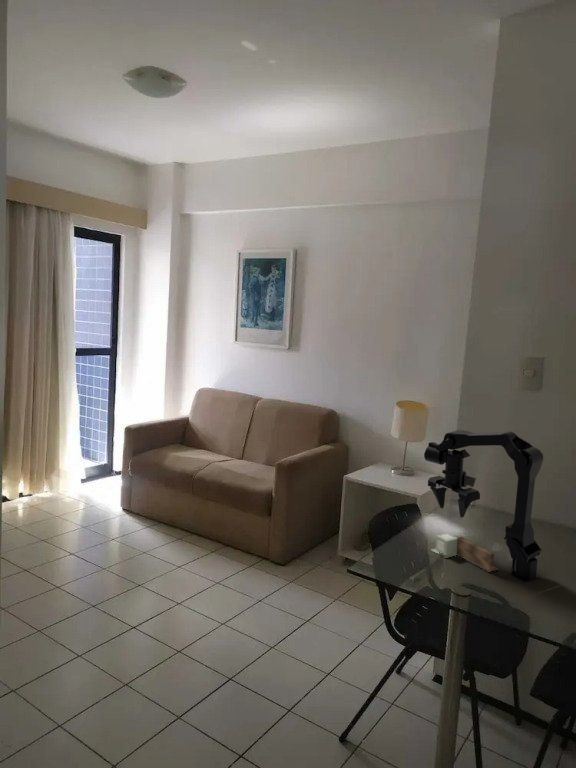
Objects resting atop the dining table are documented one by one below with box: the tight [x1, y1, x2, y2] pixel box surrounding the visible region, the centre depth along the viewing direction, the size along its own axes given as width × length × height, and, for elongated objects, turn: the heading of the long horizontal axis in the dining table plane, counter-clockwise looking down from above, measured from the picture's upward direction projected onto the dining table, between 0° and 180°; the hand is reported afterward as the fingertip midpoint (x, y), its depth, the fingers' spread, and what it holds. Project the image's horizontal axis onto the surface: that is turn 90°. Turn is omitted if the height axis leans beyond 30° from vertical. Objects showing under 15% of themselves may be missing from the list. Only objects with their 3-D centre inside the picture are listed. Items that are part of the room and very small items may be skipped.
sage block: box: [435, 532, 459, 556], centre depth 191 cm, size 5×5×5 cm
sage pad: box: [431, 547, 456, 555], centre depth 191 cm, size 7×7×1 cm
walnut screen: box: [456, 536, 499, 572], centre depth 184 cm, size 14×4×6 cm, turn 28°
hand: (451, 512), depth 194 cm, fingers open, 9 cm apart
